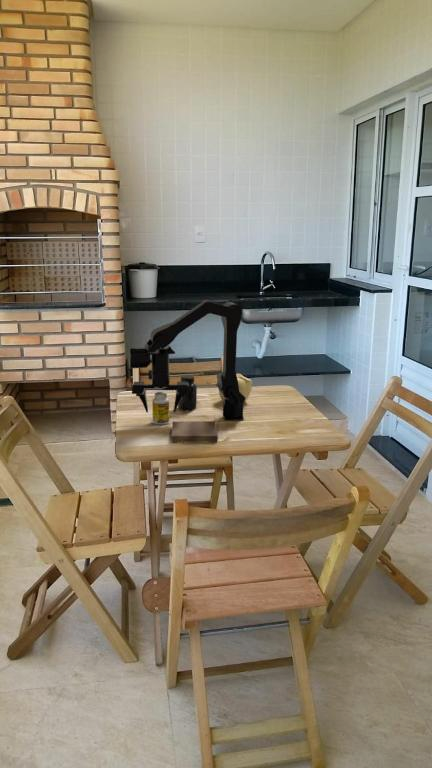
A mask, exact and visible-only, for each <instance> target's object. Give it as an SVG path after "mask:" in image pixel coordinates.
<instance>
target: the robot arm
mask: <svg viewBox="0 0 432 768" xmlns="http://www.w3.org/2000/svg"><path fill="white" fill-rule="evenodd" d="M209 314H211V315H215V316H220V318H221V322H222V326H223V354H222V360H223V361H222V371H221V373H220V374H217V375H216V378H217V379H216V380H217V382H216V384H215V386H216V387H217V388H218V392H219V391H220V392H221V393H222V394H223V395H224V397H225V398H226V399H225V402H223V403H222V416H223V418H224V420H225V421H243V420H244V403H245V402H246V401H245V397H244V396H243V395H242V394H241V393H240V392H239V385H238V379H237V376H236V374H237V373H236V369H237V367H236V366H237V344H238V341H237V340H238V338H237V337H238V330H239V327H240V325H241V322H242V318H243V317H242V316H243V310H242V308H241V306H239V305H238V304H236V303H234V302H232V301H227V302H225V303H221V302H216V301H210V300H209V299H204V300H201V302H200V303H198V304H197V305H196V306H194V307H192V308H191V309H190V310H188V311H187V312H185V313H183V314H182V315H181V316H179V317H178V318H176V319H175V320H174V321H171V322H169V323H166V324H163V325H161V326H157V327H156V328H154V329H152V331H151V333H150V337H149V339H148V341H147V342H146V344H145V345H144V347H129V349H128V356H127V359H128V360H127V362H128V368H129V369H147V368H148V367H149V366H150V365H151V369H148V373H147V374H148V378H147V379H148V380H149V381H150V380H151V384H145V381H134V382H133V383H132V384H131V394H133V395H135V397H138V398H139V399H140V401H141V403H142V405H143V407H144V409H145V412H146V413H147V414H148V412H149V407H148V406H149V405H148V400H147V392H146V391H175V399H174V405H173V413H176V411H177V408H178V403H179V401H180V399H181V397H182V396H185V394H188V393H189V383H188V382H181V381H176V384H170V381H171V380H170V377H171V376H170V355H175V354H176V352H175V350H174V349H172V347H171V346H170V344H171V343H173V341H175V339H176V337H178V336H179V334H181V333H182V332H183V331H184V330H186V329H188V328H189V327H191V326H192V325H193V324H195V323H197V322H198V321H200V320H202V319H203V318H205V316H207V315H209ZM244 401H245V402H244Z"/></svg>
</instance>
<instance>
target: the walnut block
mask: <svg viewBox="0 0 432 768" xmlns="http://www.w3.org/2000/svg"><path fill="white" fill-rule="evenodd" d="M171 425H172V428H171V429H172V430H171V443H218V431H217V430H218V429H217V424H216V420H215V421H213V420H211V421H209V420H208V421H207V420H206V421H203V420H201V421H190V420H188V421H172V424H171Z"/></svg>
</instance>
